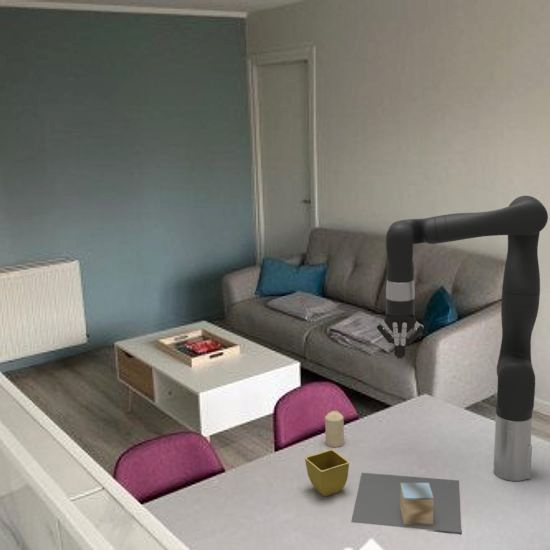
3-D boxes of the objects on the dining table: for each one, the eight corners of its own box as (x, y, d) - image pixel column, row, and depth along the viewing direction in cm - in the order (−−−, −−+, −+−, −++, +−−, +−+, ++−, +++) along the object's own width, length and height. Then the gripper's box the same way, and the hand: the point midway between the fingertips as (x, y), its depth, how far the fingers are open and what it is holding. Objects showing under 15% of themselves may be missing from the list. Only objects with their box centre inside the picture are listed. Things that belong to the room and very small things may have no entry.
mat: (458, 481, 186) (458, 480, 186) (461, 534, 163) (461, 532, 163) (361, 473, 192) (361, 472, 192) (351, 523, 169) (351, 522, 169)
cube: (433, 498, 165) (433, 524, 167) (428, 482, 172) (428, 507, 174) (403, 498, 166) (403, 524, 167) (400, 482, 172) (400, 508, 174)
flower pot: (322, 503, 178) (321, 471, 176) (305, 487, 186) (304, 457, 184) (350, 493, 182) (350, 462, 180) (332, 478, 190) (332, 448, 188)
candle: (342, 448, 207) (342, 417, 205) (324, 446, 208) (323, 416, 206) (344, 439, 212) (344, 409, 210) (327, 438, 213) (326, 408, 211)
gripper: (374, 299, 183) (374, 361, 187) (425, 300, 180) (424, 363, 184) (376, 292, 190) (376, 352, 194) (425, 293, 187) (425, 353, 191)
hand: (400, 357), depth 189 cm, fingers closed
